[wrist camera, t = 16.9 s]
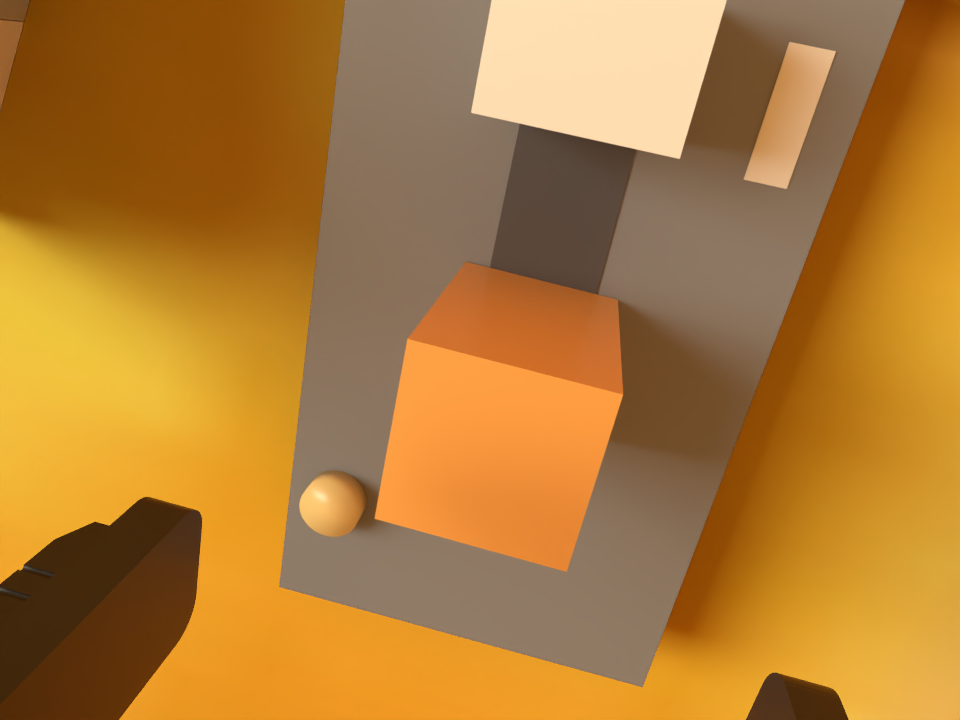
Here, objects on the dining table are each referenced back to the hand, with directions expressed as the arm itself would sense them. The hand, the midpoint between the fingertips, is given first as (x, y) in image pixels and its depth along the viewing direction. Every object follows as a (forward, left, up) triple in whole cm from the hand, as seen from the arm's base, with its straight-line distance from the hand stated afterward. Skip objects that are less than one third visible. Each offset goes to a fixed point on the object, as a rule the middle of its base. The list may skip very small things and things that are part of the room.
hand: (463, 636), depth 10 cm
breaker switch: (+8, 0, -10) cm, 13 cm away
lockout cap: (0, 0, -10) cm, 10 cm away
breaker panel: (+3, 0, -13) cm, 14 cm away
